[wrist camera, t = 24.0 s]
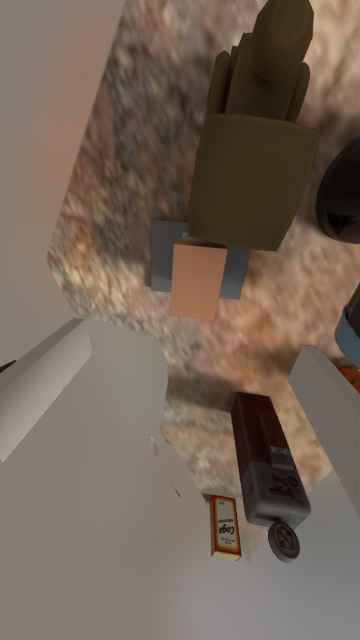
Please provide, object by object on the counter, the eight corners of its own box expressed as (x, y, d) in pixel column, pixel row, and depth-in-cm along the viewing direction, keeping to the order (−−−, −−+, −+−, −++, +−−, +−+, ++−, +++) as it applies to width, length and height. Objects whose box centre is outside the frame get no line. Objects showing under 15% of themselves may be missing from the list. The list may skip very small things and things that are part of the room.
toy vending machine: (273, 390, 51) (339, 553, 26) (261, 417, 56) (306, 574, 31) (239, 386, 51) (272, 541, 26) (230, 413, 56) (251, 563, 32)
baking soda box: (235, 498, 81) (241, 557, 67) (231, 505, 84) (237, 562, 70) (212, 494, 81) (214, 552, 67) (209, 501, 84) (211, 557, 70)
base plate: (153, 219, 35) (151, 219, 33) (254, 227, 34) (256, 228, 32) (152, 288, 41) (151, 290, 39) (238, 297, 40) (239, 299, 38)
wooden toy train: (250, 240, 35) (285, 255, 20) (188, 229, 35) (178, 236, 20) (300, 77, 25) (436, -122, 10) (214, 64, 25) (229, -148, 11)
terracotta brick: (180, 238, 28) (174, 244, 22) (222, 242, 27) (227, 249, 21) (176, 296, 32) (169, 315, 26) (212, 300, 32) (214, 320, 25)
